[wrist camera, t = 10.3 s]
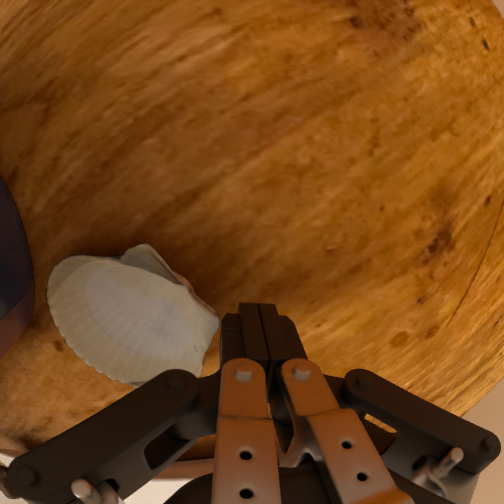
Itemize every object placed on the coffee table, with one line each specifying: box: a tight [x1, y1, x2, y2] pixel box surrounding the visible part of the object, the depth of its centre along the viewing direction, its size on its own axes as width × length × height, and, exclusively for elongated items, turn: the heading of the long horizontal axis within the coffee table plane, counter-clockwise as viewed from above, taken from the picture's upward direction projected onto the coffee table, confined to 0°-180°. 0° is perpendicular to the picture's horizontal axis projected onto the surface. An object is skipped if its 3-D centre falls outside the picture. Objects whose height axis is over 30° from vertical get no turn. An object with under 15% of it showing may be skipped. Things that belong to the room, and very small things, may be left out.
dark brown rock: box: [0, 467, 21, 499], centre depth 20 cm, size 6×7×10 cm
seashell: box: [46, 243, 220, 388], centre depth 11 cm, size 8×3×8 cm
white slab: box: [0, 449, 214, 504], centre depth 18 cm, size 17×32×4 cm, turn 104°
